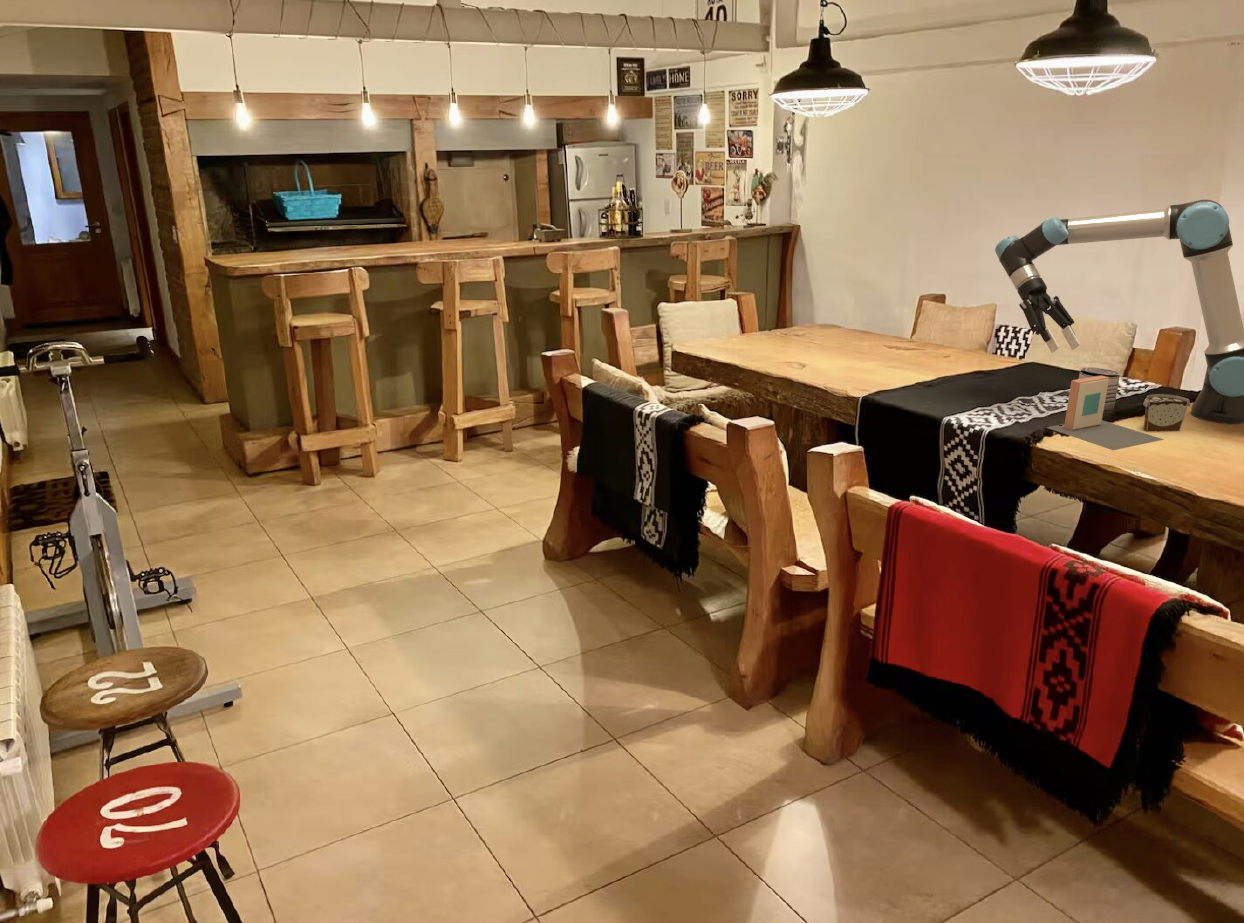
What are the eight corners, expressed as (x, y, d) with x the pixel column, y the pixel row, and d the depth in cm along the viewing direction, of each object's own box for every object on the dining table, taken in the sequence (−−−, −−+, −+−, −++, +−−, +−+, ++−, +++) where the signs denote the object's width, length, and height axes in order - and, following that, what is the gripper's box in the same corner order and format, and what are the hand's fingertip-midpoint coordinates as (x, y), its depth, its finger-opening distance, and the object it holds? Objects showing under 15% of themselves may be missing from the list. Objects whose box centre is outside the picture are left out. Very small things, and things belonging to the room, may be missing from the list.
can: (1065, 404, 290) (1071, 366, 286) (1093, 400, 294) (1099, 363, 289) (1094, 414, 280) (1101, 375, 276) (1123, 410, 284) (1130, 371, 279)
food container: (1171, 426, 268) (1178, 393, 264) (1184, 433, 262) (1191, 399, 258) (1129, 427, 267) (1135, 394, 264) (1141, 434, 262) (1147, 400, 258)
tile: (1093, 422, 270) (1101, 375, 265) (1102, 425, 267) (1110, 377, 262) (1063, 428, 265) (1071, 380, 260) (1072, 431, 262) (1080, 382, 257)
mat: (1094, 420, 274) (1095, 418, 273) (1163, 442, 255) (1164, 439, 255) (1045, 430, 266) (1045, 427, 266) (1112, 452, 247) (1113, 450, 247)
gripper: (1045, 288, 283) (1081, 351, 274) (995, 294, 274) (1031, 359, 266) (1062, 273, 276) (1100, 337, 268) (1011, 278, 268) (1049, 344, 260)
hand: (1065, 348), depth 267 cm, fingers open, 8 cm apart
